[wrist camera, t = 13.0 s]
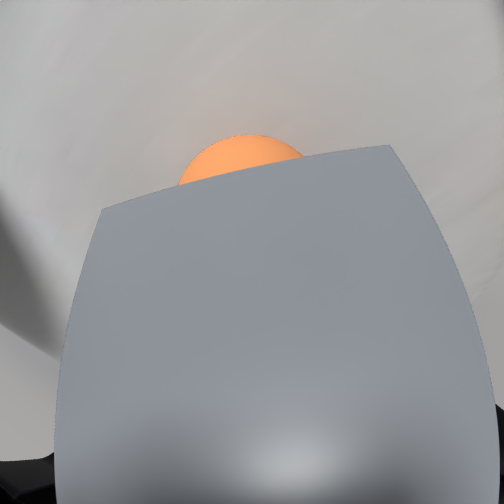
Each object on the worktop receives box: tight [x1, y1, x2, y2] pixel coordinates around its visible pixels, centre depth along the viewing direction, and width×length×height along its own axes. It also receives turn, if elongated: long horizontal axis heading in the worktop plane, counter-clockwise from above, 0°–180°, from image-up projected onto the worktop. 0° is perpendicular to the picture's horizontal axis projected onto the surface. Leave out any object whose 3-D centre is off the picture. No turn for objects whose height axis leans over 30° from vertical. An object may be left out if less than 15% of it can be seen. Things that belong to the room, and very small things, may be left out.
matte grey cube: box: [54, 145, 500, 504], centre depth 7 cm, size 8×8×9 cm
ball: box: [178, 135, 303, 185], centre depth 9 cm, size 5×5×5 cm
